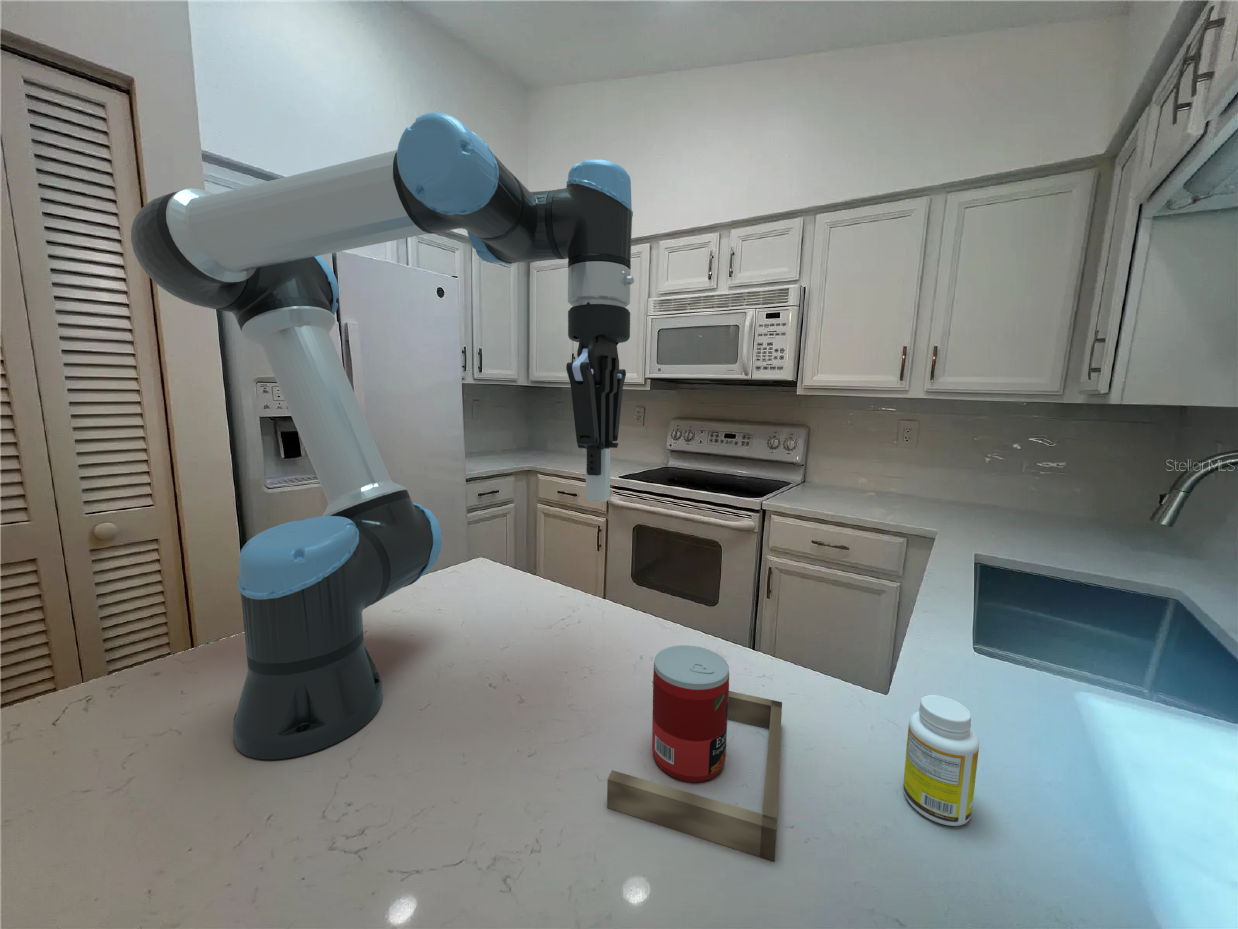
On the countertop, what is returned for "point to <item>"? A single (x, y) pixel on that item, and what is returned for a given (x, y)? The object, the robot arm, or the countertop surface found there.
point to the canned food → (690, 712)
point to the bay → (708, 814)
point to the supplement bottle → (941, 761)
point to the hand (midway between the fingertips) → (597, 499)
